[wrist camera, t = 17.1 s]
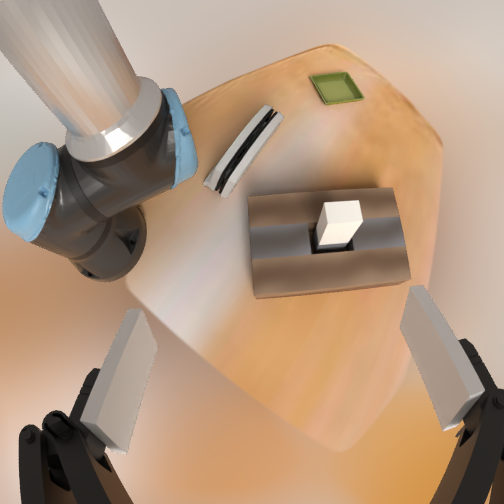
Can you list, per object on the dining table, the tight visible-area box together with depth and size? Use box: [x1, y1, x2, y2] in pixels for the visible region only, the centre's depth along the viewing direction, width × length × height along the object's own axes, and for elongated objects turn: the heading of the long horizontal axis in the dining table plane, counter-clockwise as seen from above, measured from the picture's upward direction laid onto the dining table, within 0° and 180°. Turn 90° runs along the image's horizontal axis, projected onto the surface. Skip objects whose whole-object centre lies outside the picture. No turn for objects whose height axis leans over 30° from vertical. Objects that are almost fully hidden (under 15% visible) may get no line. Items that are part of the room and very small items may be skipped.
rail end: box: [313, 200, 363, 254], centre depth 38 cm, size 2×4×13 cm, turn 94°
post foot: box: [248, 188, 411, 299], centre depth 43 cm, size 14×22×5 cm, turn 94°
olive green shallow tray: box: [310, 72, 364, 105], centre depth 53 cm, size 9×9×2 cm
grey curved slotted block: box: [203, 105, 284, 198], centre depth 47 cm, size 17×5×10 cm, turn 148°
